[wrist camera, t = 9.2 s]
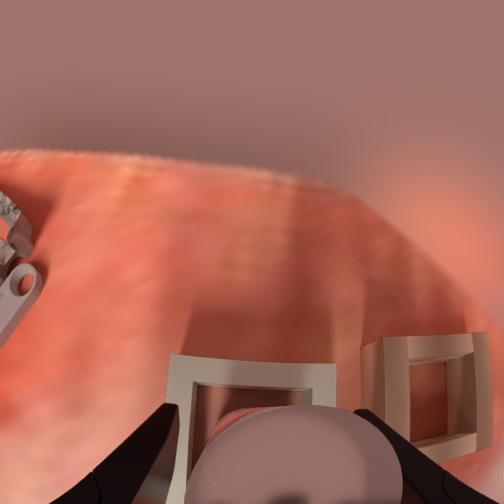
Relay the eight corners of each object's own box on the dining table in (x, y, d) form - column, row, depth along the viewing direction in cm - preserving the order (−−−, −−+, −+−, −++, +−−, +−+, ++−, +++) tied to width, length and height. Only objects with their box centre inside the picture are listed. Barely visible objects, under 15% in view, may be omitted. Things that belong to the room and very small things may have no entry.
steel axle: (293, 443, 15) (434, 493, 4) (240, 481, 13) (276, 613, 2) (253, 395, 16) (321, 360, 5) (198, 431, 15) (137, 484, 4)
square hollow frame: (321, 369, 17) (336, 363, 14) (316, 501, 13) (329, 514, 11) (177, 361, 16) (170, 353, 14) (168, 496, 12) (159, 509, 10)
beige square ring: (459, 343, 18) (486, 331, 15) (462, 445, 14) (491, 445, 12) (360, 348, 17) (383, 336, 15) (358, 468, 14) (382, 477, 11)
